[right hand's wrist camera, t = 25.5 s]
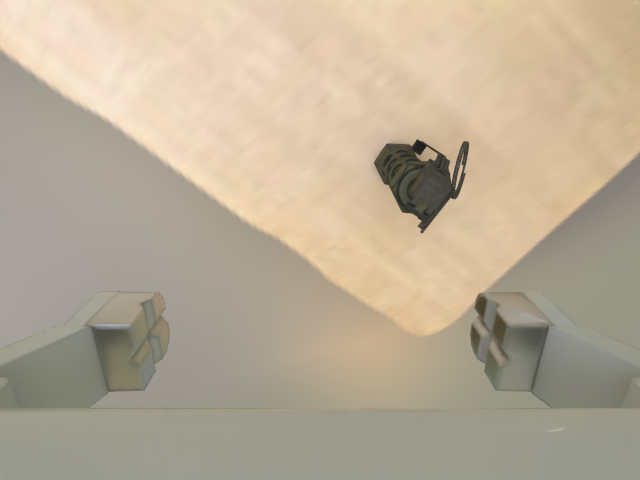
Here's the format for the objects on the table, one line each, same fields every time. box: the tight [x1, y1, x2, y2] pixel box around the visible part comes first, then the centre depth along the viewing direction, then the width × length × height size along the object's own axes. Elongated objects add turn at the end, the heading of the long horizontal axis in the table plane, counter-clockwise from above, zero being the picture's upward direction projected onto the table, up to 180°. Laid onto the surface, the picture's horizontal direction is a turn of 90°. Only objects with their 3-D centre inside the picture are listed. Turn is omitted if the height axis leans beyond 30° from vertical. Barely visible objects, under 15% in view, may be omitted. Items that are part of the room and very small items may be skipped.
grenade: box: [374, 139, 469, 233], centre depth 38 cm, size 9×6×15 cm, turn 148°
